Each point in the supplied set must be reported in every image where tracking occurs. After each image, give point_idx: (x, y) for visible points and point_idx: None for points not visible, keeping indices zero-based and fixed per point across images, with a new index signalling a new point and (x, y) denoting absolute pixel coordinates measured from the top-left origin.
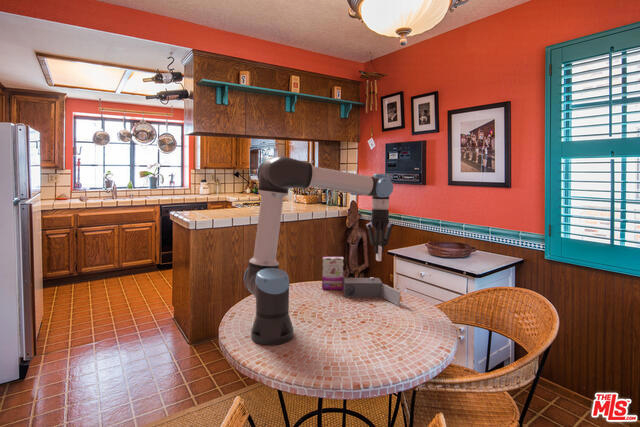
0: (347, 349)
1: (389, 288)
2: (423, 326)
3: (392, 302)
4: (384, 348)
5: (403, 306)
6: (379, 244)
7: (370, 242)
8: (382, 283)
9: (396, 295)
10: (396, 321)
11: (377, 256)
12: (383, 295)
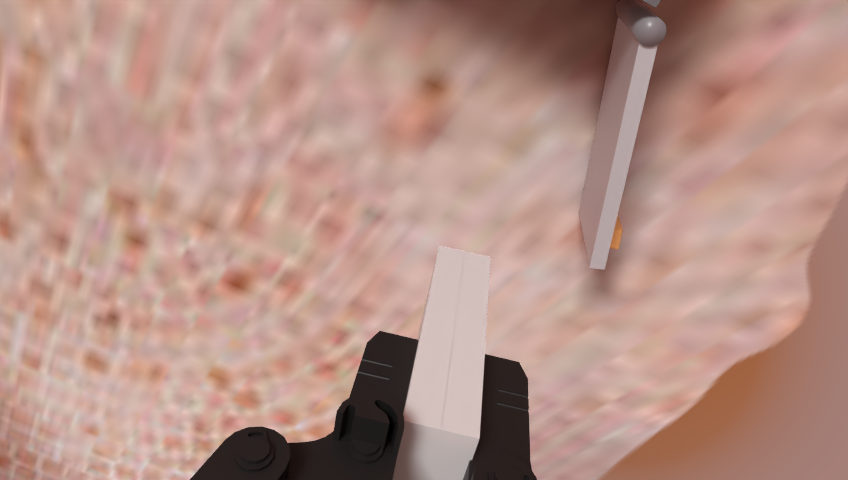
0: (86, 421)
1: (614, 141)
2: None
3: (592, 148)
4: None
5: None
6: (474, 471)
7: (207, 464)
8: (655, 6)
9: (590, 224)
10: None
11: (419, 332)
12: (621, 21)
